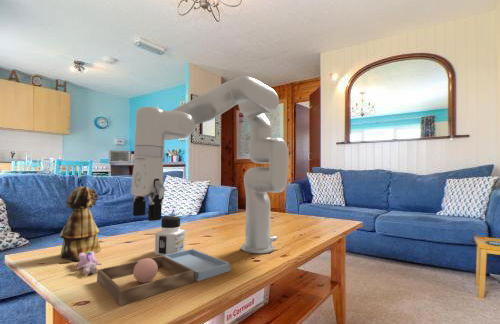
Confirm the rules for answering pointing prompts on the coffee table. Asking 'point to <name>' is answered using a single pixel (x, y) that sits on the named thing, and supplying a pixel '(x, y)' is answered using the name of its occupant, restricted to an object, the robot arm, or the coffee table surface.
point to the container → (169, 236)
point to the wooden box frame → (147, 289)
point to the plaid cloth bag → (80, 225)
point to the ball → (145, 270)
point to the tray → (200, 263)
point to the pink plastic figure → (88, 263)
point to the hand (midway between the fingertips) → (146, 217)
